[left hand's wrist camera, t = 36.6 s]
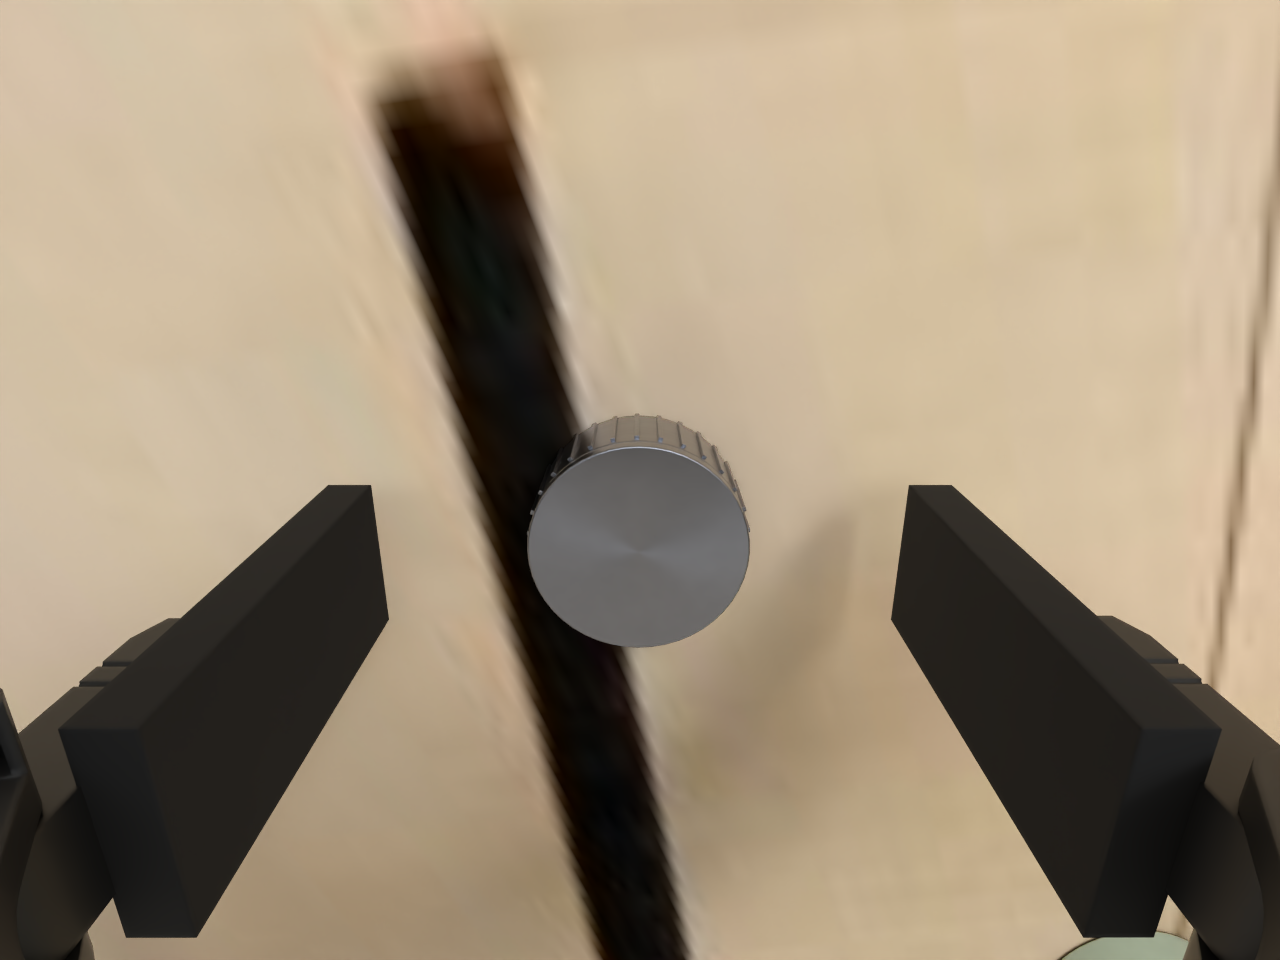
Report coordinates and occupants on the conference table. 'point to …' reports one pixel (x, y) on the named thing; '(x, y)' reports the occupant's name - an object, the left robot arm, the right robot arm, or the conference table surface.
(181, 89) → the conference table surface
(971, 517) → the left robot arm
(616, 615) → the cap
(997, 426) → the conference table surface
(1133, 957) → the bottle
